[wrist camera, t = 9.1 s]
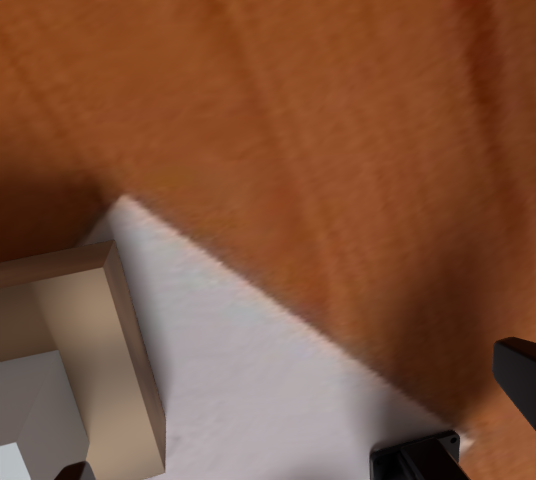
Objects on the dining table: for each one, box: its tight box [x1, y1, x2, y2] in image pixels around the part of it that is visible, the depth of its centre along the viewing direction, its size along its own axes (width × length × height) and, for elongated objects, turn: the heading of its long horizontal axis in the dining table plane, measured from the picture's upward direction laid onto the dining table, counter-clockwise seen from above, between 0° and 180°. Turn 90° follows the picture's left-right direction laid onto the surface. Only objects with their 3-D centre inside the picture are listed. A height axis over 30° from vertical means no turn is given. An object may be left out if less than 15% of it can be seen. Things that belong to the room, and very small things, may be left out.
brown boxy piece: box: [0, 240, 166, 480], centre depth 19 cm, size 11×11×4 cm
